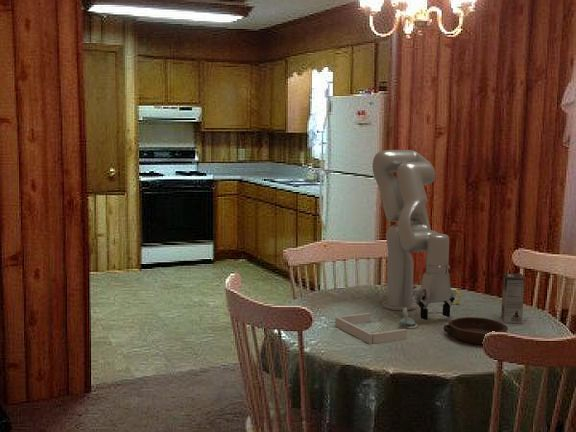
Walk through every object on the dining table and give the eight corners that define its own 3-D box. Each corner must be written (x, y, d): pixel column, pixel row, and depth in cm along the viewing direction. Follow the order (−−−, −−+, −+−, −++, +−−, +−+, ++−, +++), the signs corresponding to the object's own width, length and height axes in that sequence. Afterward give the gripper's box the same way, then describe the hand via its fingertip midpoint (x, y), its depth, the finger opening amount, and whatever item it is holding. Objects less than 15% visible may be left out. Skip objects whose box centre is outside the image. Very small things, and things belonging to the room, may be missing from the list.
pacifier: (419, 325, 225) (401, 322, 227) (420, 307, 224) (403, 305, 226) (415, 331, 218) (397, 328, 220) (416, 312, 217) (398, 310, 219)
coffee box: (500, 316, 237) (502, 272, 235) (519, 317, 235) (521, 273, 233) (503, 322, 228) (505, 277, 226) (522, 324, 226) (525, 278, 224)
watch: (460, 304, 254) (462, 289, 253) (458, 306, 251) (460, 291, 250) (445, 301, 257) (446, 286, 256) (443, 303, 254) (444, 288, 253)
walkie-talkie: (409, 299, 261) (428, 290, 277) (409, 288, 260) (429, 280, 277) (389, 296, 266) (409, 287, 282) (389, 285, 265) (409, 277, 282)
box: (335, 325, 222) (335, 317, 222) (368, 321, 228) (368, 312, 228) (370, 344, 202) (370, 334, 202) (406, 338, 208) (406, 329, 208)
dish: (451, 327, 222) (451, 313, 222) (518, 337, 211) (519, 322, 211) (435, 340, 207) (436, 325, 207) (507, 352, 196) (508, 336, 196)
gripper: (449, 265, 233) (447, 312, 235) (409, 269, 225) (408, 317, 227) (463, 269, 226) (461, 317, 228) (423, 273, 219) (421, 323, 221)
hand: (435, 317), depth 228 cm, fingers open, 9 cm apart
